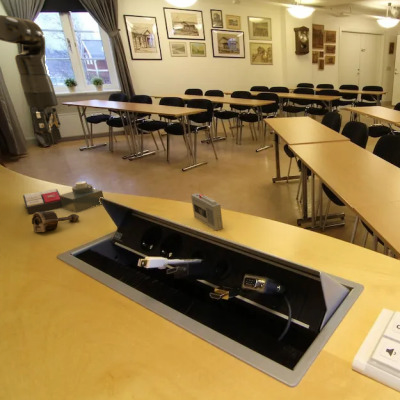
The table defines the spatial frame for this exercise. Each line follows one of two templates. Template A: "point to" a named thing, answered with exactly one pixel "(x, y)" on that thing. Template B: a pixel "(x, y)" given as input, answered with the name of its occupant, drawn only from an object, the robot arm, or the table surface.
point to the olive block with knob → (81, 198)
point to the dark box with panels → (42, 201)
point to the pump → (81, 184)
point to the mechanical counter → (49, 220)
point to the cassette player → (207, 211)
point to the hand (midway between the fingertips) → (54, 142)
